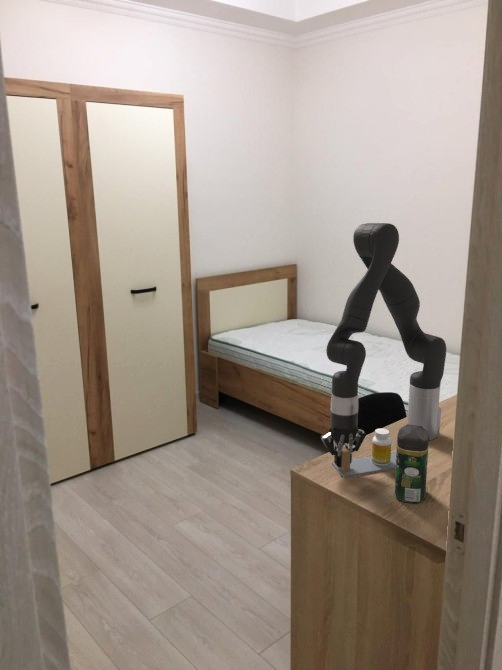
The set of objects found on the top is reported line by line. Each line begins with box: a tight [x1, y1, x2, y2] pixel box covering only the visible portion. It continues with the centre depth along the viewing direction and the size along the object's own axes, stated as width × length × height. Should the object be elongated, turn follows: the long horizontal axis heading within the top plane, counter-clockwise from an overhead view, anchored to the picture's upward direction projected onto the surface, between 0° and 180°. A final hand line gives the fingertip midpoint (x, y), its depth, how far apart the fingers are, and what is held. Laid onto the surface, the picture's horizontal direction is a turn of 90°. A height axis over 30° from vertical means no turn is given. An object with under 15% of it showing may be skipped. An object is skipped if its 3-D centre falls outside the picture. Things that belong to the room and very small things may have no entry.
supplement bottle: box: [371, 428, 392, 466], centre depth 166 cm, size 5×5×10 cm
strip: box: [331, 445, 396, 479], centre depth 166 cm, size 26×8×7 cm, turn 107°
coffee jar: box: [394, 423, 430, 504], centre depth 148 cm, size 10×8×19 cm
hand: (342, 465), depth 163 cm, fingers closed on strip, 2 cm apart
